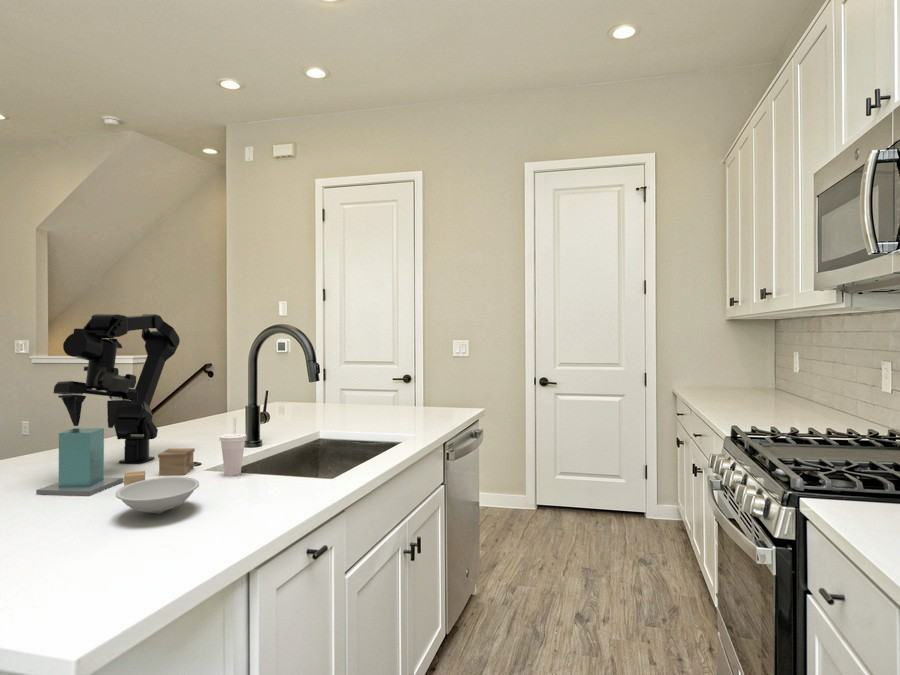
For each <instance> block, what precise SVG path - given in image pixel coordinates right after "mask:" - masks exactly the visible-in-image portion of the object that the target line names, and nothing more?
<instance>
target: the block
mask: <svg viewBox="0 0 900 675" xmlns="http://www.w3.org/2000/svg"><path fill="white" fill-rule="evenodd" d="M123 478H124V482H123V487H124V486H126V485H129V484H132V483H135V482H139V481H143V480H146V470H136V471H126V472H124V475H123Z"/></svg>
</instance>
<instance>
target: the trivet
mask: <svg viewBox="0 0 900 675" xmlns="http://www.w3.org/2000/svg"><path fill="white" fill-rule="evenodd" d="M119 483H120V484H122V483H124V477H112V476H111V477H109V476H108V477H107V476H104V480H102V481H100V482H99V483H97V484H95V485H93V486H91V487H65V488H59V481H58V482H55V483H52V484H50V485H47V486H44V487H40V488H38V489H36V491H35V493H36V494H46V495H45V496H73V495H76V496H79V495H80V496H81V497H91V496H92V495H95V493H96V494H98V493H101V492H102V490H103V491H105V490H107V488H108V489H110V488H112V486H113V487H115V486H118V485H120V484H119ZM104 489H105V490H104ZM97 492H98V493H97ZM90 495H91V496H90ZM80 496H79V497H80Z"/></svg>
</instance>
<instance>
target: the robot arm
mask: <svg viewBox="0 0 900 675" xmlns="http://www.w3.org/2000/svg"><path fill="white" fill-rule="evenodd" d="M150 329H156V330H150ZM139 330H142V331H141V338H142V340H143V341H144V343H145V344H144V349H145V352H146V358H145V361H144V363H143V367H142V369H141V372H140V375H139V377H138V380H137V375H134V374H130V373H126V374H125V375H121V374H120V373H119V368H117V367H116V366H115V365H116V359H117V351H118V350H117V349H122V348H123V345H122V343H120V342H119V341H118V338H120V337H122V336H124V335H127V334H128V333H129V332H130V331H139ZM180 341H181V339H180V336H179V334H178V333H177V332H176V330H175V328H174V327H173V326H171V325H170V324H169V323H167V322H165V321H164V319H163V318H162V317H161V316H160V315H159V314H156V313H155V314H151V313H149V314H148V313H147V314H146V313H144V314H140V315H124V314H118V313H115V314H113V313H112V314H110V313H107V314H106V313H105V314H103V313H102V314H101V313H100V314H99V313H98V314H96V313H95V314H93V315H91V319H89V320H88V322H87V323H85V325H84V326H83V328H74V329H73V333H71V334H69V335H68V336H67V337H66V339H65V340H64V342H63V344H62V345H63V346H62V347H63V348H62V349H63V351H64V354H66V355H67V356H69V357H73V358H78V359H81V360H84V361H85V360H86V361H88V363H87V366H83V371H84V372H87V373H86V378H85V382H83V381H74V380H65V381H58V382H56V384H55V385H54V387H53V394H55V395H58V396H57V397H58V399H61V400H62V402H63V404H64V406H65V408H66V410H67V412H68V415H69V418H70V420H71V422H72V425H73V427H79V424H80V422H81V414H82V413H81V412H82V406H83V402H84V401H85V399H86V398H87V396H86V395H93V396H102V397H109V399H110V400H107V401H106V402H107V404H106V405H107V406H106V408H107V426H108V428H109V429H113V428H114V429H115V430H114V431H115V435H116V438H117V440H124V447H123V448H124V452H123V453H124V454H123V455H124V458H123V459H121V460H119V461H118V463H120V464H121V463H122V464H144V463H146V462H149V461H151V460H154V459H155V456H150V440H154V439H156V438H157V437H158V432H159V431H158V430H159V429H158V428H157V426H156V425H155V423H154V422H153V421H152V420H153V416H154V415H153V413H152V410H151V403H152V401H153V397H154V395H155V392H156V389H157V386H158V384H159V380H160V378H161V374H162V372H163V370H164V366H165V364H166V362H167V361H168V360H169V359H170V358H171V357H172V356H174V355H175V353H176V351H177V349H178V347H179V345H180ZM84 394H85V395H84Z"/></svg>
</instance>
